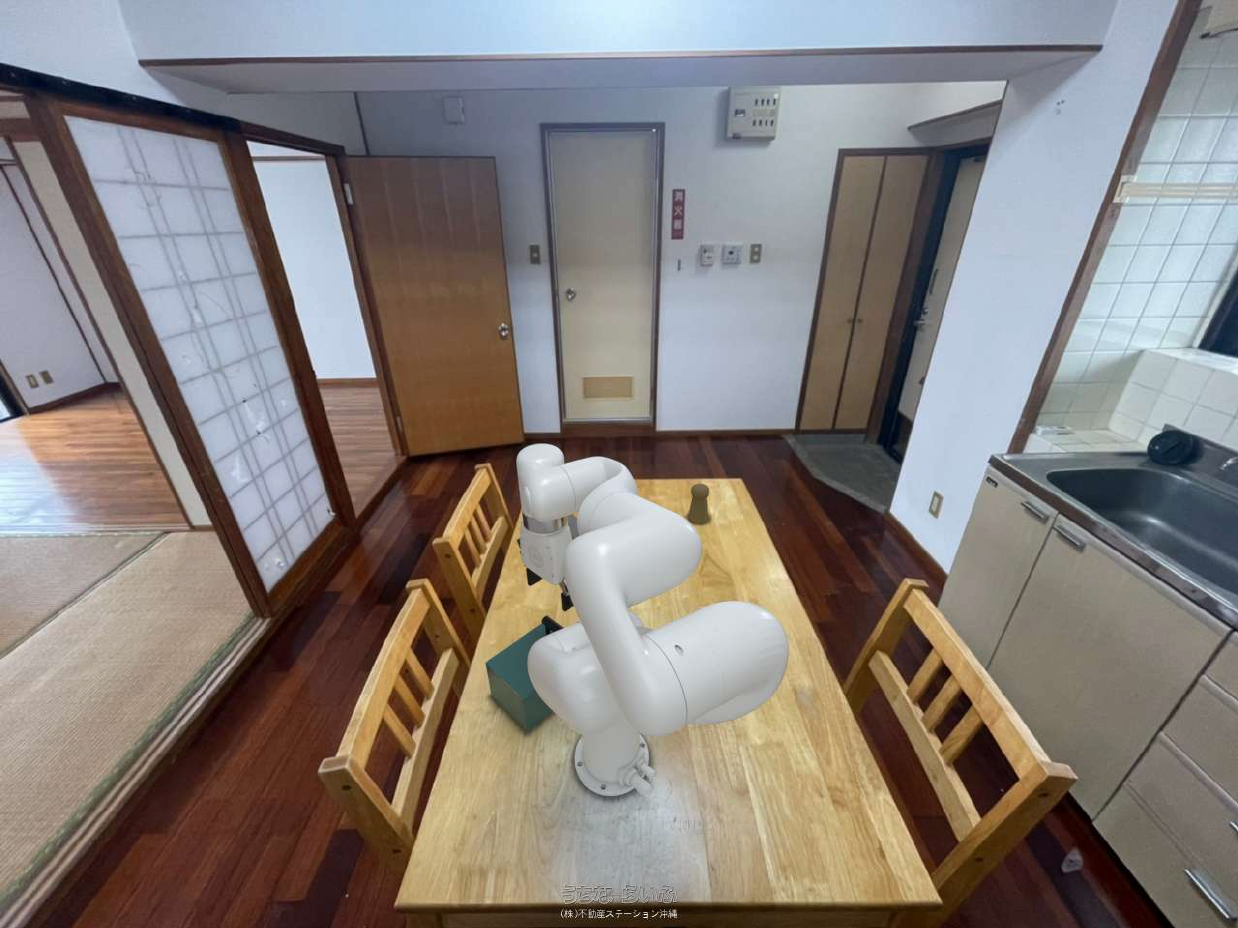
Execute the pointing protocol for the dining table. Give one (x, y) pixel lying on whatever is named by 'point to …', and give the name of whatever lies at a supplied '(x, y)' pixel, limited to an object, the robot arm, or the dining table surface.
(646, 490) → the dining table surface
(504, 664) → the lid
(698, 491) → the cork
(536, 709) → the teal open box
